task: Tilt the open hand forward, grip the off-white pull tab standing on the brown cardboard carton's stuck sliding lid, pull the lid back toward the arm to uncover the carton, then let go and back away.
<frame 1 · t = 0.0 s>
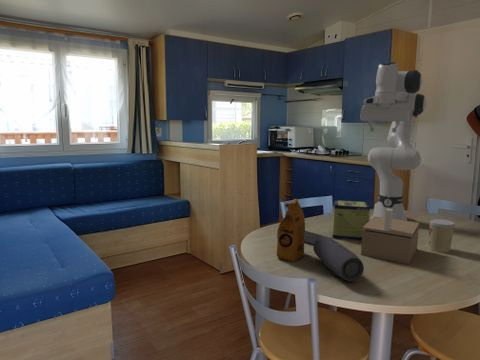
hand: (382, 131, 171), 48 cm above the table, tool pointing down, fingers open, 8 cm apart
notebook: (305, 239, 174), on the table
coffee cup: (439, 250, 161), on the table
bluetooth speaker: (336, 271, 137), on the table
carton lid: (392, 216, 155), point 15 cm above the table, slide at 0.0 cm
carton: (389, 251, 157), on the table
coffee package: (290, 256, 151), on the table
protein box: (349, 236, 178), on the table
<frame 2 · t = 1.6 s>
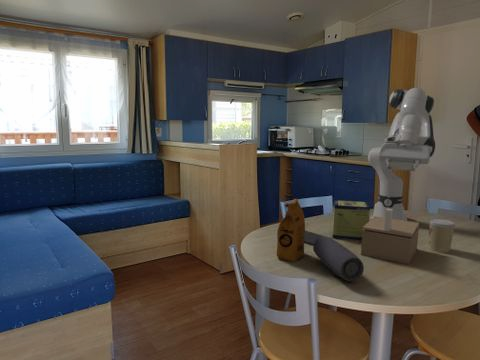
hand: (400, 168, 159), 33 cm above the table, tool tilted 45°, fingers open, 8 cm apart
nothing on the table moved.
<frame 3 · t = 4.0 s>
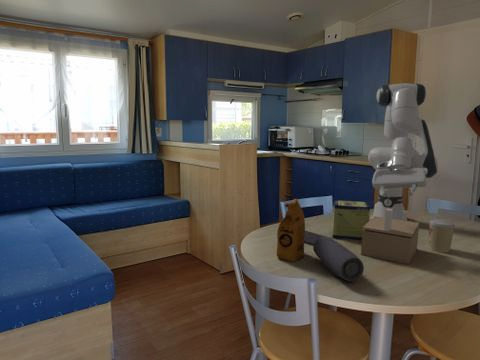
hand: (397, 195, 151), 24 cm above the table, tool tilted 45°, fingers open, 8 cm apart
nothing on the table moved.
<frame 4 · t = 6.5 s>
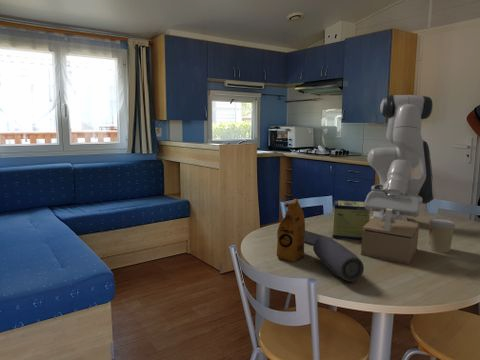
hand: (388, 221, 148), 15 cm above the table, tool tilted 45°, fingers closed on carton lid, 2 cm apart
carton lid: (392, 216, 155), point 15 cm above the table, slide at 0.0 cm, touching gripper
everything else where it was.
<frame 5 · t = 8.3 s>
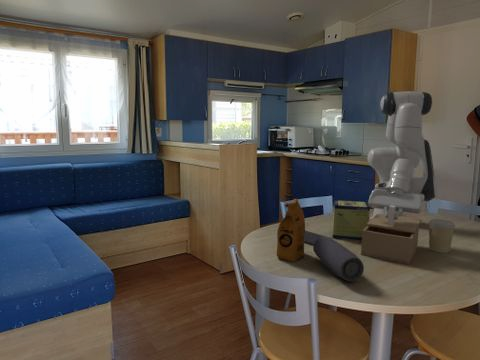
hand: (391, 218, 153), 15 cm above the table, tool tilted 45°, fingers closed on carton lid, 2 cm apart
carton lid: (395, 213, 160), point 15 cm above the table, slide at 6.5 cm, touching gripper
everything else where it was.
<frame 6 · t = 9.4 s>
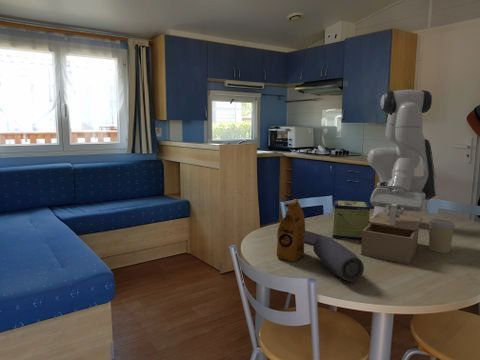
hand: (393, 216, 156), 15 cm above the table, tool tilted 45°, fingers closed on carton lid, 2 cm apart
carton lid: (396, 211, 163), point 15 cm above the table, slide at 10.0 cm, touching gripper
everything else where it was.
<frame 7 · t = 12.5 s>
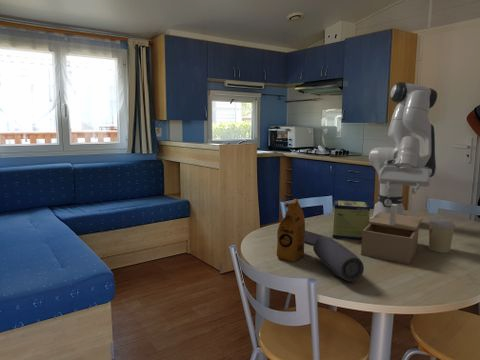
hand: (401, 192, 161), 23 cm above the table, tool tilted 45°, fingers open, 8 cm apart
carton lid: (396, 211, 163), point 15 cm above the table, slide at 10.0 cm
everything else where it was.
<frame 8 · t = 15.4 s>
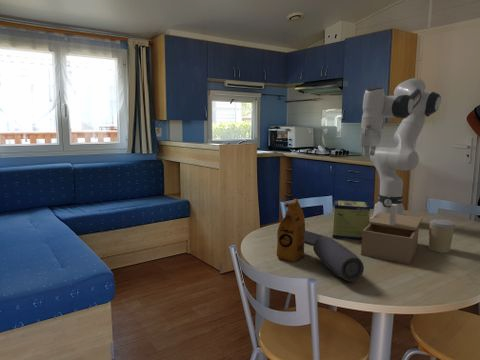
hand: (369, 156, 171), 37 cm above the table, tool pointing down, fingers open, 8 cm apart
nothing on the table moved.
at the end: carton lid slide at 10.0 cm; the gripper is holding nothing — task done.
